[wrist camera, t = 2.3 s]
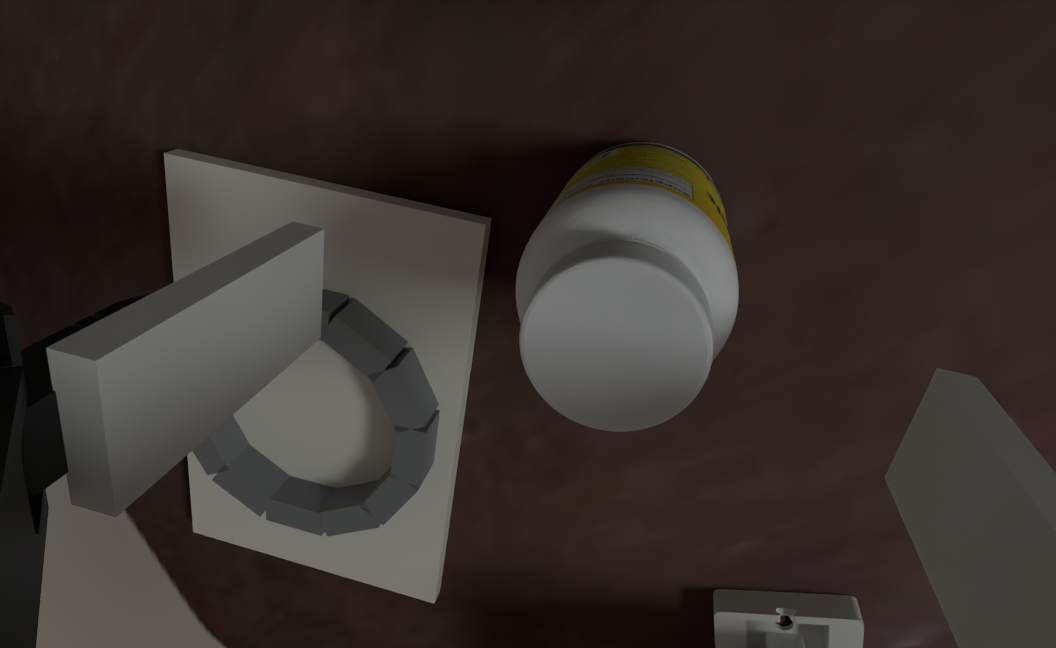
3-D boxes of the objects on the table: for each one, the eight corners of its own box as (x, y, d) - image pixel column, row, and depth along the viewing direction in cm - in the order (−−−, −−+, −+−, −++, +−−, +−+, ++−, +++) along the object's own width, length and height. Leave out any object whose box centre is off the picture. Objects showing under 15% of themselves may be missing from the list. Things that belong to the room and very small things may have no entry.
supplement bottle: (707, 309, 24) (717, 485, 15) (552, 283, 24) (474, 436, 16) (743, 149, 21) (778, 246, 12) (569, 127, 22) (489, 203, 13)
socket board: (178, 148, 25) (131, 161, 23) (491, 218, 24) (472, 238, 22) (204, 520, 33) (170, 555, 31) (440, 590, 32) (422, 632, 30)
